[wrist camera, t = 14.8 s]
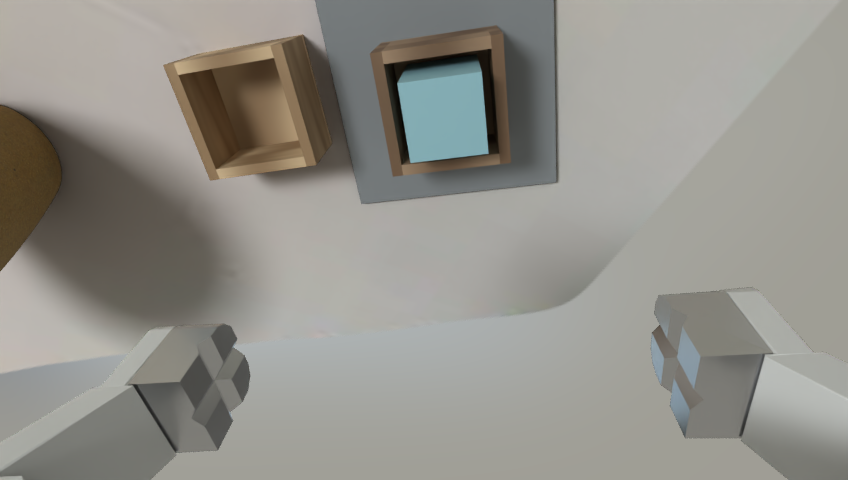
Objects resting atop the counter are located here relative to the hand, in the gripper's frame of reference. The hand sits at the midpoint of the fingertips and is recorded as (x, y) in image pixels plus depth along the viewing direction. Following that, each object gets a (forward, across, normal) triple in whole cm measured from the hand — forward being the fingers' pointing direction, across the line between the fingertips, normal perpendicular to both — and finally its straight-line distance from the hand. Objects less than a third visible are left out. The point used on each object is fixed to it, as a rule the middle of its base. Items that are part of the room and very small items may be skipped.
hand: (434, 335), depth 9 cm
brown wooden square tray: (+22, +1, +1) cm, 22 cm away
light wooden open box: (+22, +12, 0) cm, 25 cm away
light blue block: (+22, +1, +1) cm, 22 cm away
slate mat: (+23, +1, +1) cm, 23 cm away
